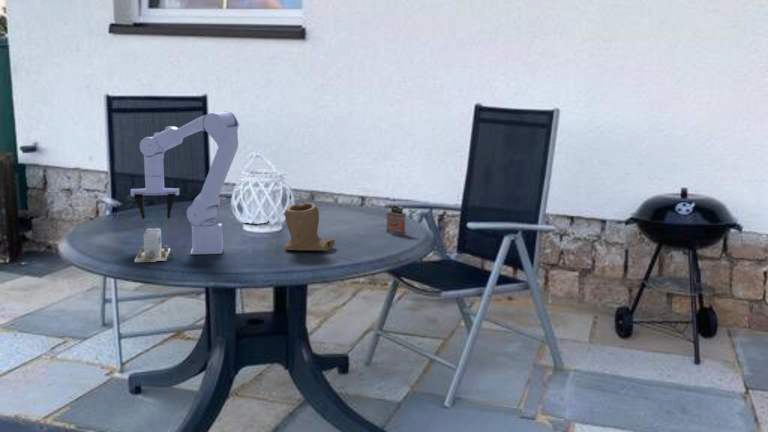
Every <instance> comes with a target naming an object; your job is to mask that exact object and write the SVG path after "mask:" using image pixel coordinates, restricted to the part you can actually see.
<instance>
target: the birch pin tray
mask: <svg viewBox="0 0 768 432" xmlns="http://www.w3.org/2000/svg"><path fill="white" fill-rule="evenodd" d="M139 249H140V250H139V251H137V253H136V256H135V259H134V261H133V262H134V263H154V262H155V263H157V262H156V261H165V262H167V260H168V258H169V255H170V252H171V251H172V250H171V248H170V247H169V245H164V246H163V248H162V251H161V253H160V255H159V257H153V253H148V257H145V254H144V245H142V246H140V248H139ZM170 250H171V251H170ZM167 257H168V258H167Z"/></svg>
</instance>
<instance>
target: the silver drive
mask: <svg viewBox="0 0 768 432" xmlns="http://www.w3.org/2000/svg"><path fill="white" fill-rule="evenodd" d="M143 246H144V254H145V257H148V253H153V257H159V255H160V253H161V251H162V249H163V248H162V229H161V228H147V229H146V230H145V231H144V233H143Z"/></svg>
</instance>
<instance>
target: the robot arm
mask: <svg viewBox="0 0 768 432" xmlns="http://www.w3.org/2000/svg"><path fill="white" fill-rule="evenodd" d="M238 121H239V120H238V119H237V118H236V116H235V114H234V113H233V112H232V111H227V110H226V111H221V112H210V113H207V114H203V115H201V116H199V117H197V118H195V119H194V120H192V121H189V122H188V123H186V124H184V125H182V126H180V127H178V126H171V125H170V126H169V125H168V126H166V127H164V130H162V131H160V132H154V133H153V136H145V137H143V139H141V141H140V142H139V150H140V152H141V154H142V155H143V164H144V182H145V183H144V185H145V187H143V188H131V189H130V196H131V197H133V199H134V201H135V202H136V204H137V205H136V206H137V207H138V209H139V212H140V215H141V219H142V220H144V219H145V218H146V210H145V209H146V208H145V196H166V206H167V211H166V213H167V215H166V218H167V219H170V218H171V212H172V208H173V205H174V202H175V199H176V197H177V196H179V195H180V187H177V188H175V187H165V170H164V169H165V168H164V159H165V153H166V151H167V150H170V149H172V148H175V147H177V146H179V145H181V144H182V143H183V141H184V138H186V137H188V136H191V135H193V134H197V133H198V132H200V131H201V132H207V133H208V135H209V137H211V138H212V139H213V141H214V142H215V143H216V145H217V149H216V152H215V155H214V158H213V160H212V162H211V166H210V168H209V171H208V174H207V176H206V178H205V181H204V183H203V186H202V189H201V191H200V192H199V194H198V195H197V196H196V197H195V198H194V200H193V201H192V204H191V205H190V206H188V207H187V208H186V209H187V210H186V218H187V220H188V221H189V223H190V226H191V242H192V243H191V244H192V245H191V251H190V254H189V255H218V254H219V255H220V254H223V250H224V249H223V248H224V246H225V245H224V244H225V242H224V241H223V240H224V238H223V223H221V222H219V223H217V218H218V217H219V215H220V204H221V199H220V198H219V196H220V193H221V191H222V188H223V186H224V184H225V181H226V178H227V176H228V173H229V171H230V168H231V166H232V164H233V161H234V158H235V157H236V153H237V151H238V149H239V138H238V136H239V135H238V130H239V127H240V123H239V122H238Z"/></svg>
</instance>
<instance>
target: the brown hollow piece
mask: <svg viewBox="0 0 768 432" xmlns="http://www.w3.org/2000/svg"><path fill="white" fill-rule="evenodd" d="M284 217H285V223H286V227H287V230H288V231H289V233H290V237H291V238H290V241H288V242H286V243H285V244H284V248H285V249H286V250H289V251H301V252H304V251H306V252H329V251H330V250H331V249H332V248H333V247H334V245H335V244H336V239H334V238H333V239H332V238H331V239H330V238H322V237H319V235H318V231H319V221H320V212H319V209H318V207H317V205H315V204H314V203H311V202H305V203H302V204H298V203H296V204H295V203H294V204H291V205H290V206H288V207H287V208H286V209H285V211H284Z"/></svg>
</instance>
